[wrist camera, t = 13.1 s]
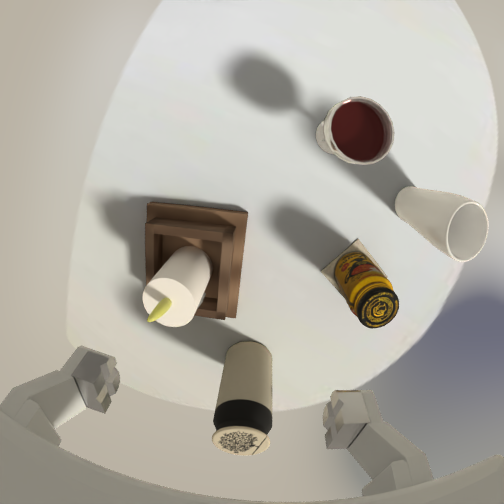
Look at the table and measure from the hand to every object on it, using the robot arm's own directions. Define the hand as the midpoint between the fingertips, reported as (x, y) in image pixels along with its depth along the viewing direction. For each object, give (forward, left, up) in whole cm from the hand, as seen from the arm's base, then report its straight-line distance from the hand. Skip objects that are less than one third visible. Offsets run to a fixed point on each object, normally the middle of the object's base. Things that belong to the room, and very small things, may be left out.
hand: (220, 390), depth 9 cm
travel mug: (+25, +2, -31) cm, 40 cm away
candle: (+9, -8, -30) cm, 32 cm away
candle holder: (+8, -8, -31) cm, 33 cm away
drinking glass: (-5, +22, -31) cm, 38 cm away
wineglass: (-12, +9, -31) cm, 34 cm away
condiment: (+7, +16, -31) cm, 36 cm away
